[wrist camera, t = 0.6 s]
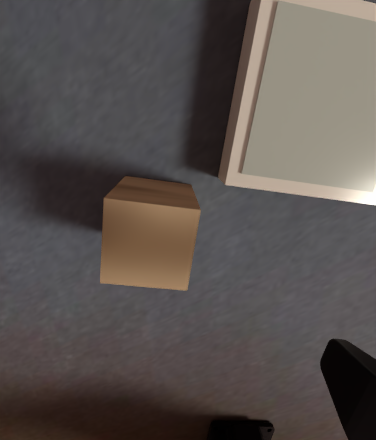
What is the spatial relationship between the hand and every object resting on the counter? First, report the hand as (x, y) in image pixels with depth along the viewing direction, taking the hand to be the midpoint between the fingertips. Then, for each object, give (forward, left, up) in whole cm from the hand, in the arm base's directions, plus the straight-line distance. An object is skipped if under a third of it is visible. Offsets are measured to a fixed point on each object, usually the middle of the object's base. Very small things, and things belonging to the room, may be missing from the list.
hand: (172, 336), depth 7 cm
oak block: (0, +1, -12) cm, 12 cm away
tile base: (+8, -8, -12) cm, 16 cm away
